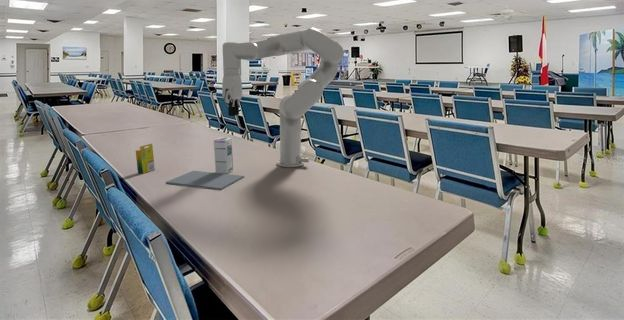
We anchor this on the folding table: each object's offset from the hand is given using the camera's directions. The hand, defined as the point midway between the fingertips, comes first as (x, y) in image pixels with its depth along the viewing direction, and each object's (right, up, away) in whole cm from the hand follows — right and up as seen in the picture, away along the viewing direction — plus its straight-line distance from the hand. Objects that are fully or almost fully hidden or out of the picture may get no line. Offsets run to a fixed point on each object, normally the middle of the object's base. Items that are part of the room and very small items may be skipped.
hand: (233, 115), depth 175 cm
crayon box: (-36, -25, -5) cm, 44 cm away
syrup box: (-3, -25, -4) cm, 25 cm away
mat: (-8, -28, -17) cm, 33 cm away
